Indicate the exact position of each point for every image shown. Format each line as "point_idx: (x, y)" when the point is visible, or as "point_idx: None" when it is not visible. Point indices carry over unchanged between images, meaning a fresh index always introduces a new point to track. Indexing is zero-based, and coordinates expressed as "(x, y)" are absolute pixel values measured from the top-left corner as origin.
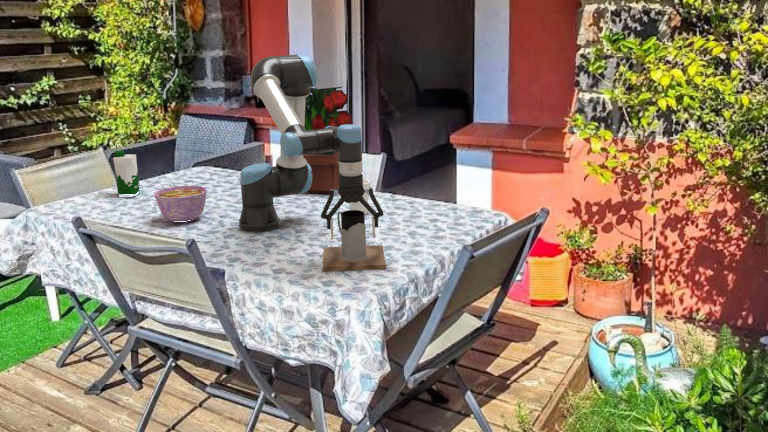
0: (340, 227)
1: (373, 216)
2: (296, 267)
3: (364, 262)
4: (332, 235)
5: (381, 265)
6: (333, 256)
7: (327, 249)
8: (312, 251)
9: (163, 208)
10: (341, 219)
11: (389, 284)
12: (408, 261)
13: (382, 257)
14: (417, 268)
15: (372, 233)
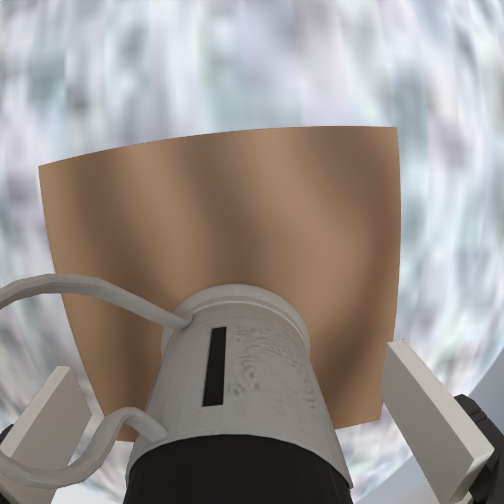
0: (68, 286)
1: (487, 454)
2: (17, 372)
3: None
4: (76, 433)
5: (361, 421)
6: (117, 328)
7: (60, 206)
8: (7, 168)
9: None
10: None
11: (355, 492)
12: (466, 319)
13: (382, 345)
14: (468, 382)
15: (394, 367)
